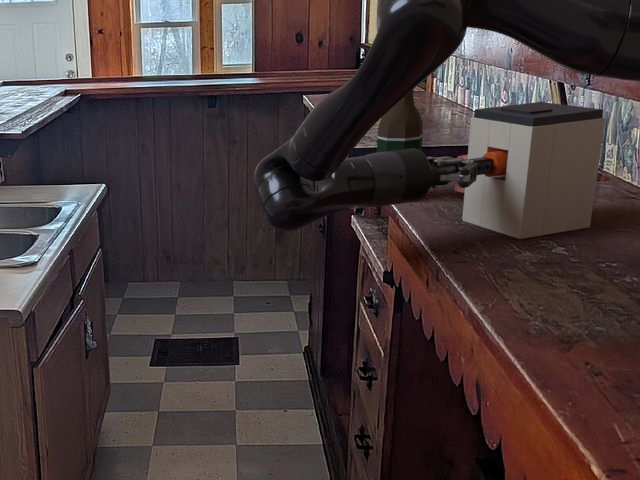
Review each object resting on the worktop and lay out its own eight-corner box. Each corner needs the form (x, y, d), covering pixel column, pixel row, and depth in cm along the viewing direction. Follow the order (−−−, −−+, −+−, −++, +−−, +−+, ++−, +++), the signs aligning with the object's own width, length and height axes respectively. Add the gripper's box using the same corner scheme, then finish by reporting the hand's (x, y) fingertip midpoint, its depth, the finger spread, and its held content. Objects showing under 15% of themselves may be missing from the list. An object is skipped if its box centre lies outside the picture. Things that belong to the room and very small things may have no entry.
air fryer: (528, 210, 141) (540, 99, 134) (589, 227, 130) (607, 107, 123) (462, 220, 137) (471, 107, 130) (519, 239, 126) (533, 116, 119)
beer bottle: (403, 204, 149) (411, 58, 140) (365, 199, 154) (371, 57, 145) (427, 196, 154) (437, 54, 144) (390, 191, 159) (397, 53, 150)
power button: (501, 171, 131) (503, 147, 129) (518, 175, 128) (521, 151, 126) (479, 174, 130) (482, 150, 128) (496, 179, 126) (498, 154, 125)
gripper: (418, 158, 115) (524, 145, 120) (363, 145, 126) (462, 133, 132) (415, 214, 118) (518, 198, 123) (361, 196, 129) (458, 182, 134)
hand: (488, 164), depth 127 cm, fingers closed
